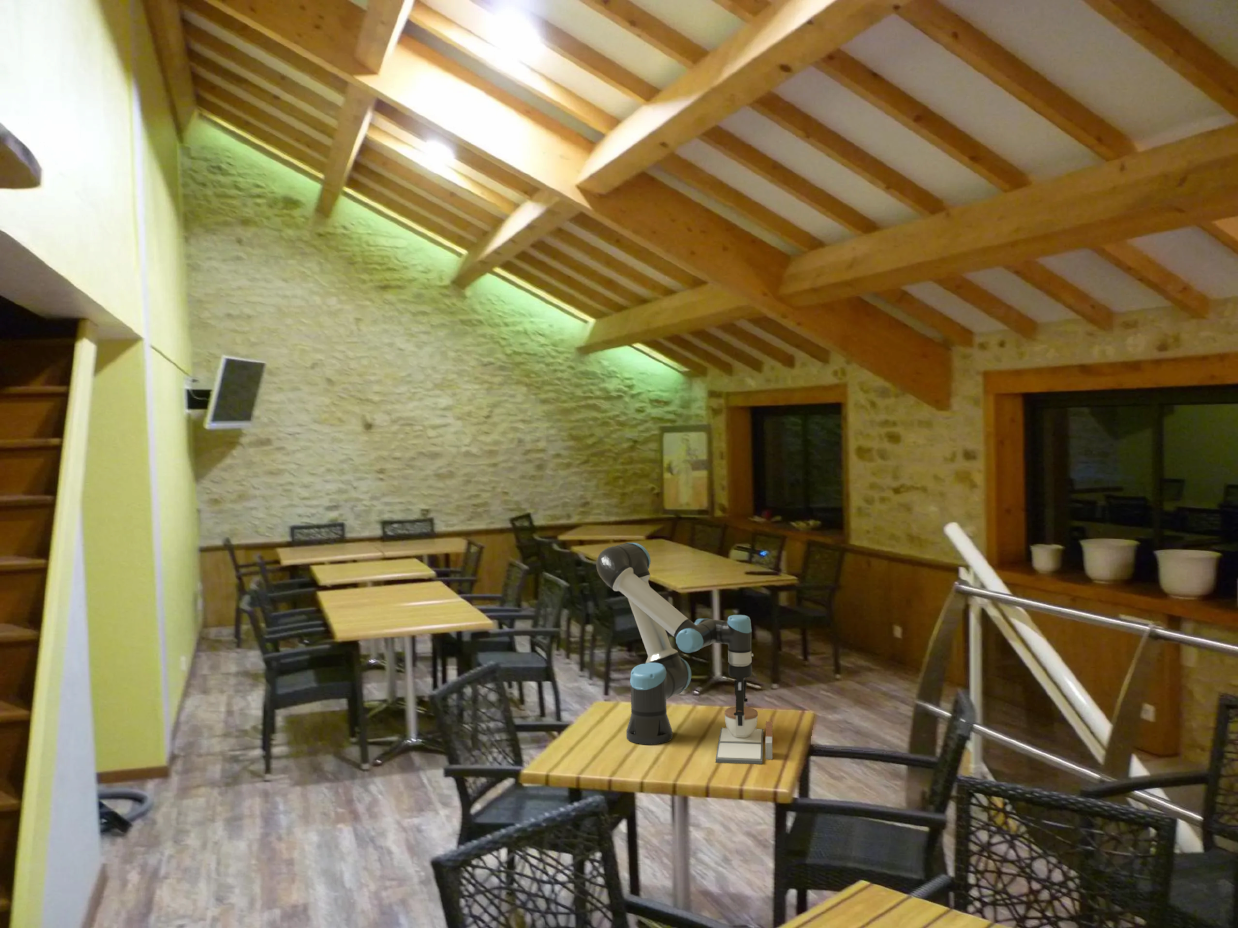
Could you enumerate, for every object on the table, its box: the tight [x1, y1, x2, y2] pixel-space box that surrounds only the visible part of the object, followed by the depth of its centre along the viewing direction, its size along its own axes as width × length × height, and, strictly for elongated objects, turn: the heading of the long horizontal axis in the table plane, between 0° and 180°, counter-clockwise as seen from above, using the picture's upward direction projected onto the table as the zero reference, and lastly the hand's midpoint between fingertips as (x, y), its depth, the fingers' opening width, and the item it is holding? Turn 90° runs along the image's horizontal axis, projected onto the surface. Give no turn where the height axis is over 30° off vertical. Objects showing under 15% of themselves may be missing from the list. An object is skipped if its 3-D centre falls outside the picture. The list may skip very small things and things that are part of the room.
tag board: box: [715, 721, 773, 765], centre depth 302 cm, size 17×30×5 cm, turn 171°
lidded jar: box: [724, 706, 759, 738], centre depth 310 cm, size 11×11×9 cm
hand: (741, 728), depth 310 cm, fingers open, 13 cm apart
